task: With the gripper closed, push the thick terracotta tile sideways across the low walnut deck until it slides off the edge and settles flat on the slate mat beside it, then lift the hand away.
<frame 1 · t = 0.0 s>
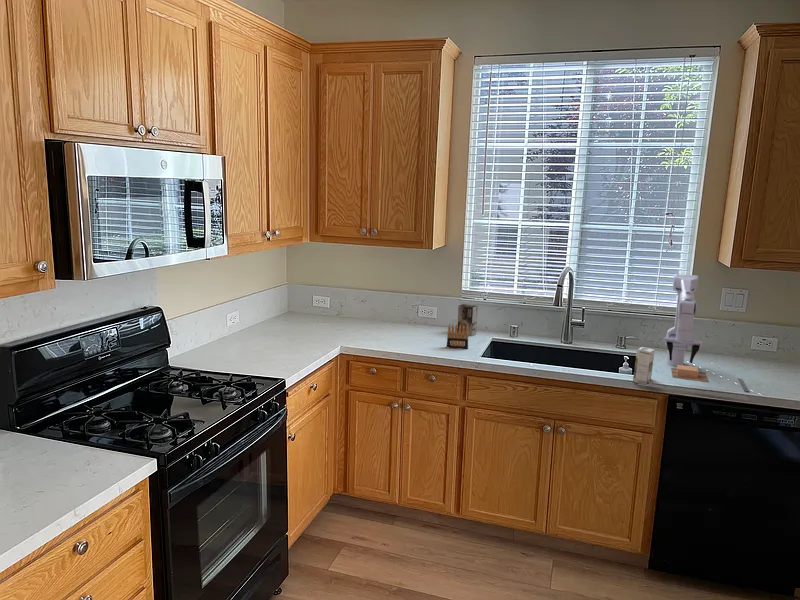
hand: (680, 361, 242), 10 cm above the countertop, tool pointing down, fingers open, 7 cm apart
slate mat: (726, 383, 248), on the countertop
walnut deck: (688, 378, 253), on the countertop
syrup box: (641, 382, 246), on the countertop
ammunition clip: (457, 348, 291), on the countertop
terracotta tile: (686, 374, 253), point 1 cm above the countertop, touching walnut deck
coffee box: (466, 334, 321), on the countertop
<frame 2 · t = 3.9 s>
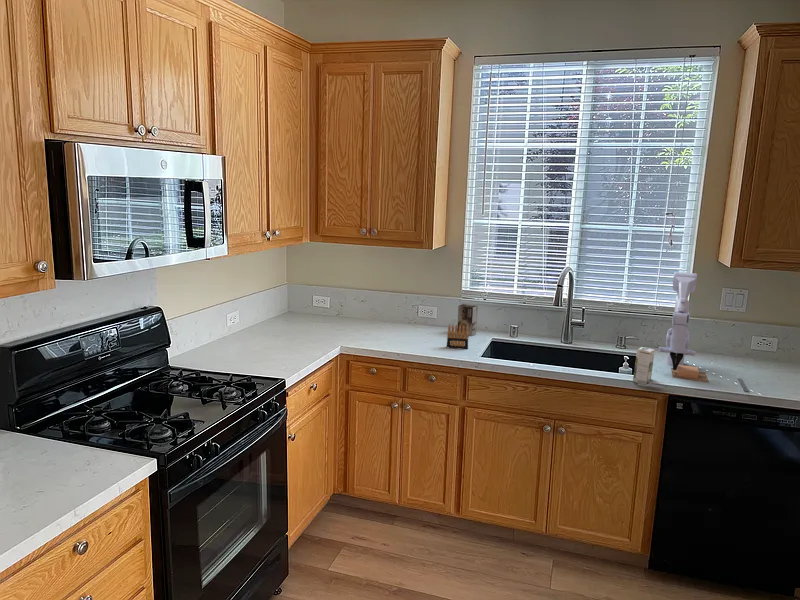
hand: (674, 369, 255), 3 cm above the countertop, tool pointing down, fingers closed
terracotta tile: (687, 374, 253), point 2 cm above the countertop, touching gripper
everything else where it was.
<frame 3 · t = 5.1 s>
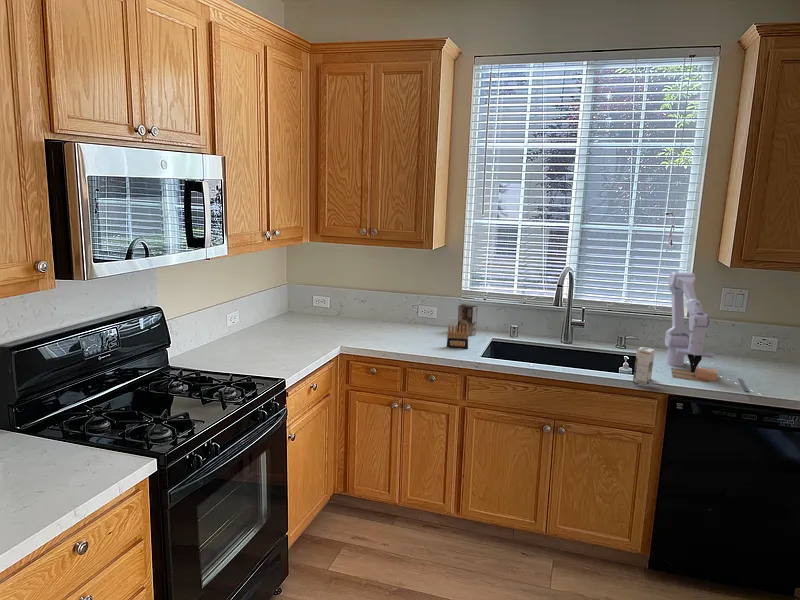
hand: (692, 371, 252), 3 cm above the countertop, tool pointing down, fingers closed
terracotta tile: (705, 377, 250), point 2 cm above the countertop, touching gripper
everything else where it was.
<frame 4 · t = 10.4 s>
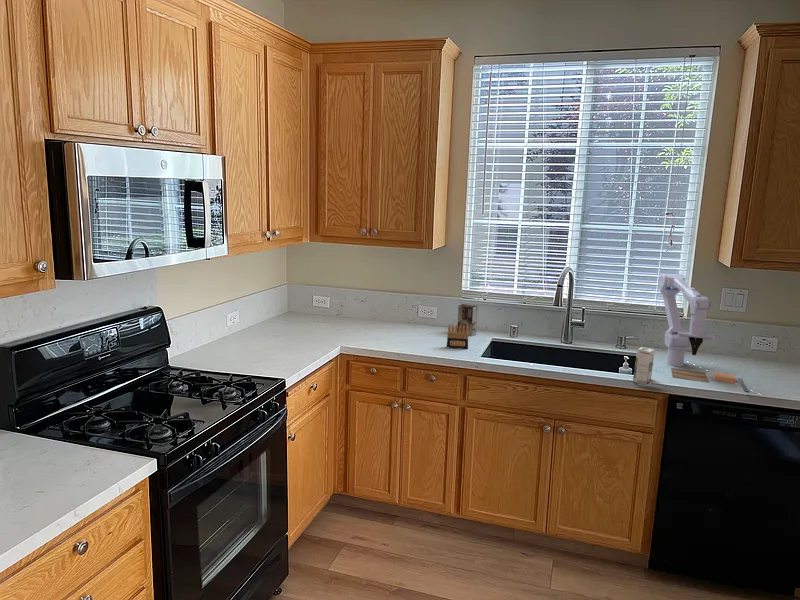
hand: (693, 354, 254), 10 cm above the countertop, tool pointing down, fingers closed
terracotta tile: (723, 381, 248), resting on slate mat
everything else where it was.
at the end: terracotta tile inside the target area (2.2 cm from its centre), resting on slate mat; terracotta tile tilted 0°; terracotta tile touching slate mat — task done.
